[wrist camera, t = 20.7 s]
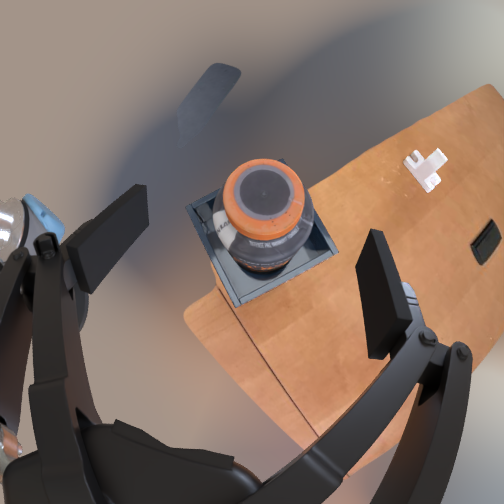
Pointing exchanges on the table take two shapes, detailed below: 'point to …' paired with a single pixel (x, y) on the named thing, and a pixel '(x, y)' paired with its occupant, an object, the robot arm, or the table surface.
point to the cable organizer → (426, 168)
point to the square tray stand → (241, 281)
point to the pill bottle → (263, 215)
